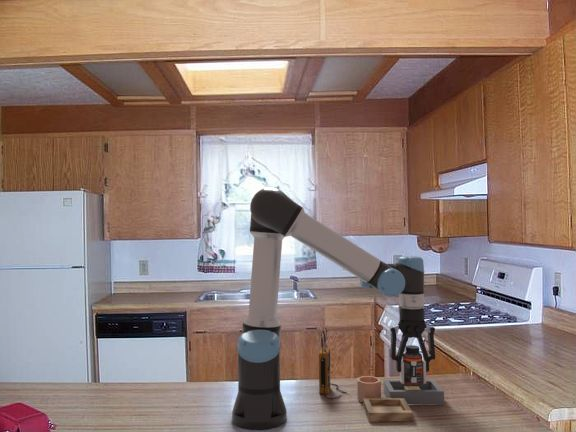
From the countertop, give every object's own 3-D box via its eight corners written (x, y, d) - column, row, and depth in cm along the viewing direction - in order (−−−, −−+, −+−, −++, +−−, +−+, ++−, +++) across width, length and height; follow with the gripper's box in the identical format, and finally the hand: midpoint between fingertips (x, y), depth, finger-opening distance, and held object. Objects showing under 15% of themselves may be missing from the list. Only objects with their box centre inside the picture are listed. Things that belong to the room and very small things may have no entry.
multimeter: (349, 400, 155) (349, 335, 155) (317, 398, 157) (316, 333, 157) (353, 385, 170) (352, 325, 170) (323, 383, 172) (323, 324, 172)
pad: (406, 394, 154) (406, 391, 154) (403, 389, 159) (403, 386, 159) (421, 394, 154) (421, 391, 154) (418, 389, 159) (418, 386, 159)
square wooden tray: (368, 421, 139) (368, 412, 139) (363, 406, 150) (363, 397, 150) (412, 421, 139) (412, 412, 139) (404, 406, 150) (403, 397, 150)
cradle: (389, 405, 151) (389, 391, 151) (383, 392, 162) (383, 379, 162) (444, 405, 151) (443, 391, 151) (434, 392, 162) (433, 379, 162)
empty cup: (358, 403, 153) (358, 383, 153) (356, 395, 160) (355, 376, 160) (382, 403, 153) (382, 383, 153) (378, 395, 160) (378, 376, 160)
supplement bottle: (419, 387, 152) (418, 350, 152) (400, 384, 156) (399, 347, 156) (425, 382, 157) (424, 345, 158) (406, 379, 161) (406, 343, 161)
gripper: (382, 309, 153) (384, 386, 153) (446, 308, 153) (447, 386, 153) (378, 305, 160) (379, 378, 160) (439, 304, 160) (440, 378, 160)
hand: (412, 382), depth 157 cm, fingers closed on supplement bottle, 6 cm apart
